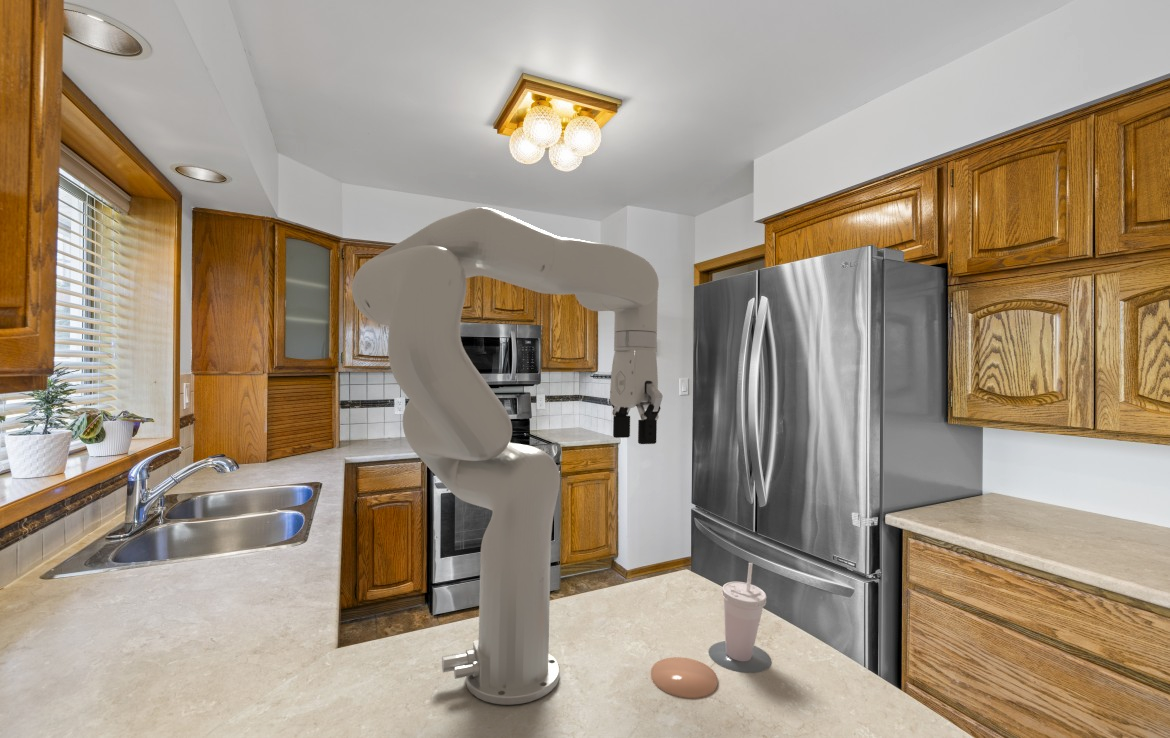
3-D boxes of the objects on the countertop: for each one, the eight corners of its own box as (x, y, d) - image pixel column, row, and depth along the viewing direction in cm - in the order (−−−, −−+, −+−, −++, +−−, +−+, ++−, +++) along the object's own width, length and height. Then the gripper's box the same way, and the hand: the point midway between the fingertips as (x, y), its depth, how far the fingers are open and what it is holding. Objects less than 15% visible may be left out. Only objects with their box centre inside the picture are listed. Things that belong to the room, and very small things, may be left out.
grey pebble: (783, 676, 74) (783, 670, 74) (723, 680, 73) (723, 675, 73) (753, 644, 83) (753, 639, 83) (699, 648, 82) (699, 642, 82)
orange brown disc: (672, 706, 66) (672, 700, 66) (639, 669, 74) (639, 663, 74) (731, 692, 69) (731, 686, 69) (693, 658, 78) (693, 652, 78)
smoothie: (765, 670, 75) (774, 575, 74) (719, 663, 75) (728, 569, 74) (755, 644, 81) (764, 556, 80) (713, 638, 82) (721, 551, 81)
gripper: (596, 345, 99) (594, 435, 98) (639, 339, 83) (637, 447, 82) (631, 346, 102) (630, 434, 101) (680, 341, 85) (678, 445, 85)
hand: (633, 440), depth 92 cm, fingers open, 9 cm apart
